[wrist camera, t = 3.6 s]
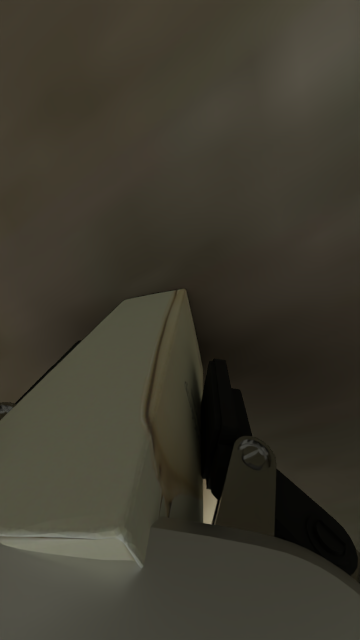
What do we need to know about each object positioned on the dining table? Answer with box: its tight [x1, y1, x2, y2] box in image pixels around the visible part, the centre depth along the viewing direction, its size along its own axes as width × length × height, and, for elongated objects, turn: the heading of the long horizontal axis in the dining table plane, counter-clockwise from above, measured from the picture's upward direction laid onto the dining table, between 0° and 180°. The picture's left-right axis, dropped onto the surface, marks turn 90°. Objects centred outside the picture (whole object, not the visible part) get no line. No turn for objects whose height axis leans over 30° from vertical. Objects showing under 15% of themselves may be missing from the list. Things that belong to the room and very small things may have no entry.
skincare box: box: [0, 289, 203, 568], centre depth 10 cm, size 6×4×12 cm
